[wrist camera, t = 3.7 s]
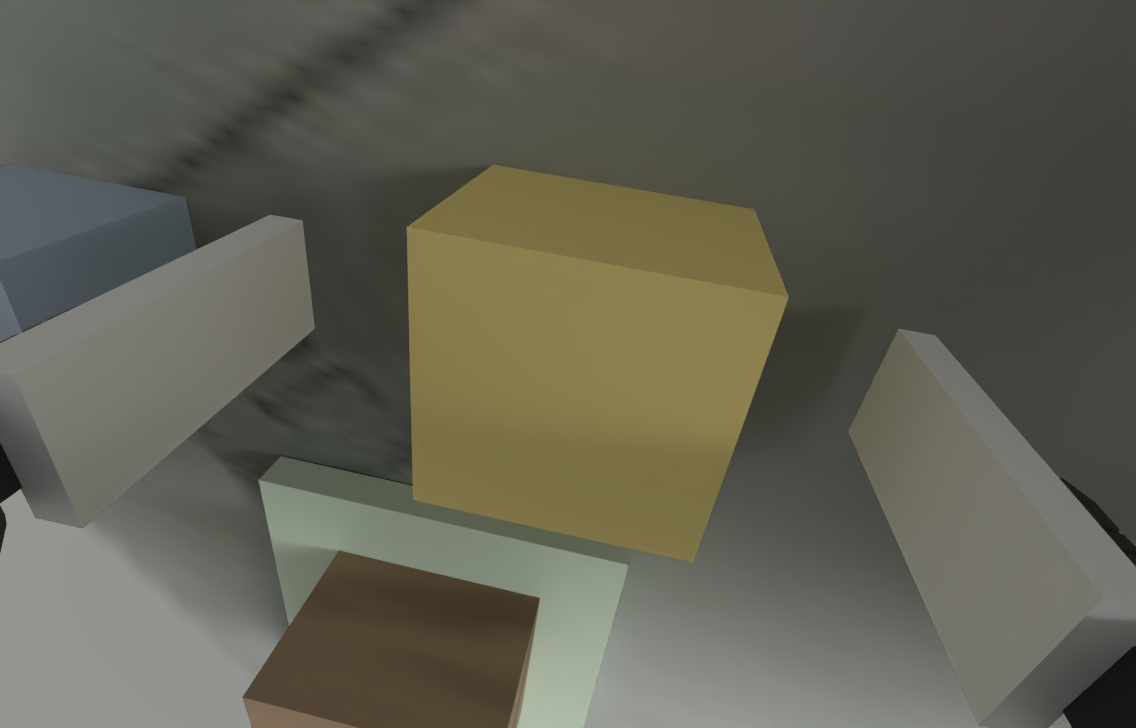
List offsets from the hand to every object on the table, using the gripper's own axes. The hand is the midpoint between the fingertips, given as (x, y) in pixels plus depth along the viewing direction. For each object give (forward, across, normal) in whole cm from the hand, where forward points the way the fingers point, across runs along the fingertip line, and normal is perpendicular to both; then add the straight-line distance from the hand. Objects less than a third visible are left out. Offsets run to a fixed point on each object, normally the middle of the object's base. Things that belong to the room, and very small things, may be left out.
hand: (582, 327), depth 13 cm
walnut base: (+1, -4, -14) cm, 14 cm away
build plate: (+2, -3, -14) cm, 14 cm away
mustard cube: (+2, 0, 0) cm, 2 cm away
